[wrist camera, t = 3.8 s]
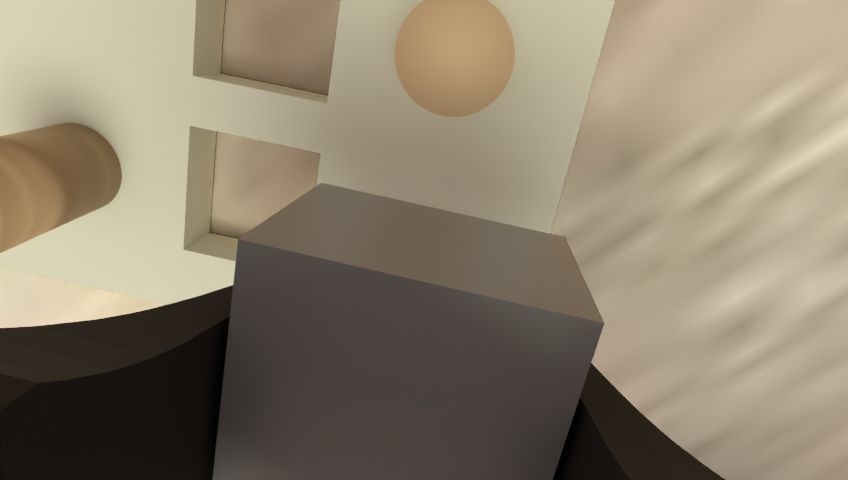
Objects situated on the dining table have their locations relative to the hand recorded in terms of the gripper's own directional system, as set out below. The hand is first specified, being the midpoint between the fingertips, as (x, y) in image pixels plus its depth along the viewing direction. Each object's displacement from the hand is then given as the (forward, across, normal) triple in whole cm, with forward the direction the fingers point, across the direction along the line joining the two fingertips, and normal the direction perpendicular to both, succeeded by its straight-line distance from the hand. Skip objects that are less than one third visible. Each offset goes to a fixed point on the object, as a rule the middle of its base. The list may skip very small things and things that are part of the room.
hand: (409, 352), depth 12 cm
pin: (+7, +13, 0) cm, 15 cm away
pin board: (+9, +7, -3) cm, 12 cm away
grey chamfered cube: (+1, 0, 0) cm, 1 cm away
